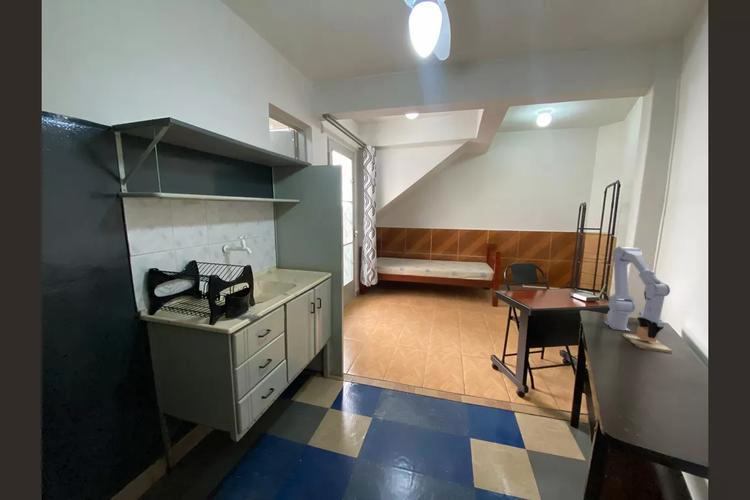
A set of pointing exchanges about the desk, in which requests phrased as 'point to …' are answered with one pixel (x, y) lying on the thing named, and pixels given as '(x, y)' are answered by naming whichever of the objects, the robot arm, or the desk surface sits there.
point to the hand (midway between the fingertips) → (647, 335)
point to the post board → (647, 344)
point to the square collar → (644, 334)
